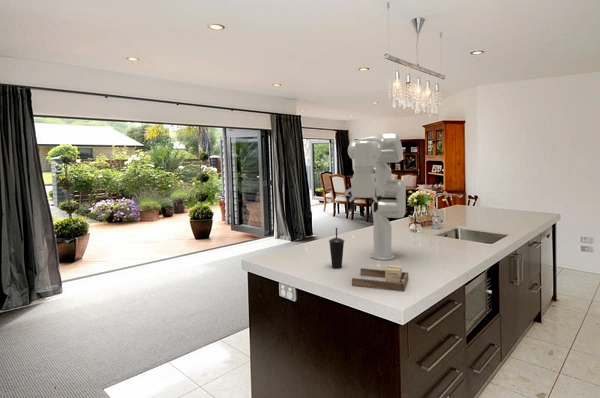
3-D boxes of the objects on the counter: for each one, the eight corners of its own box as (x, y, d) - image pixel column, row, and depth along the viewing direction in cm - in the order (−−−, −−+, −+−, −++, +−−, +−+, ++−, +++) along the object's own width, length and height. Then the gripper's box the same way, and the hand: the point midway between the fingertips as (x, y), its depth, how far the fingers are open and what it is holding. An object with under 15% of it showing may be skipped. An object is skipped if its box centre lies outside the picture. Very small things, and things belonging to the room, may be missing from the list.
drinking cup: (343, 264, 185) (342, 226, 183) (345, 269, 177) (345, 228, 175) (328, 265, 184) (327, 226, 182) (330, 269, 177) (329, 229, 175)
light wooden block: (387, 281, 158) (387, 265, 158) (401, 282, 156) (401, 266, 155) (385, 285, 153) (385, 269, 152) (399, 286, 150) (399, 270, 150)
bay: (361, 274, 168) (360, 268, 168) (408, 279, 160) (408, 272, 160) (352, 285, 153) (352, 278, 153) (403, 291, 145) (403, 284, 145)
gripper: (386, 170, 152) (386, 210, 153) (346, 170, 158) (346, 209, 160) (383, 170, 145) (382, 213, 147) (341, 171, 152) (341, 211, 153)
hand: (363, 211), depth 153 cm, fingers open, 9 cm apart
